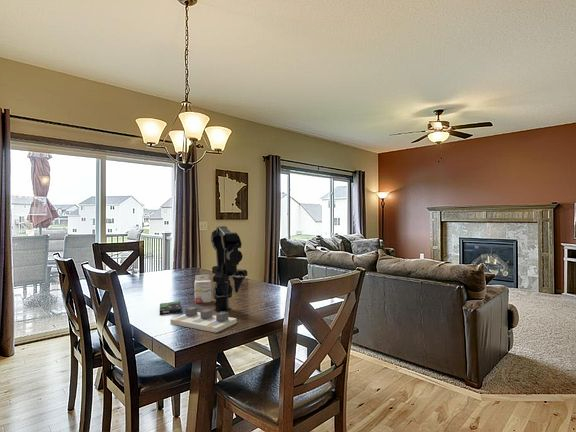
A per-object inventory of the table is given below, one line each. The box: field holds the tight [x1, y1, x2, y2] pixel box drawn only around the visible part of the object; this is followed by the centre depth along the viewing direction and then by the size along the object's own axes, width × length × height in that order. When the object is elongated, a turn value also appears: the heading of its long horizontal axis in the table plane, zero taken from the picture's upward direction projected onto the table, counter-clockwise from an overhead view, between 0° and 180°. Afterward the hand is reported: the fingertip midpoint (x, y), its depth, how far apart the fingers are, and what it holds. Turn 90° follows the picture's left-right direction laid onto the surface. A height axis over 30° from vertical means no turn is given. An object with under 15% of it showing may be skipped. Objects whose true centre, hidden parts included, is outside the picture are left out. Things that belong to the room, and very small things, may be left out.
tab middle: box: [200, 308, 213, 319], centre depth 155 cm, size 4×4×3 cm
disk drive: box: [159, 301, 182, 316], centre depth 175 cm, size 10×3×15 cm
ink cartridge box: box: [194, 274, 212, 304], centre depth 191 cm, size 9×5×15 cm, turn 110°
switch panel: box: [169, 311, 238, 333], centre depth 154 cm, size 14×26×2 cm, turn 62°
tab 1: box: [185, 306, 198, 316], centre depth 159 cm, size 4×4×3 cm
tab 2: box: [215, 311, 229, 322], centre depth 151 cm, size 4×4×3 cm
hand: (231, 294), depth 157 cm, fingers open, 8 cm apart
